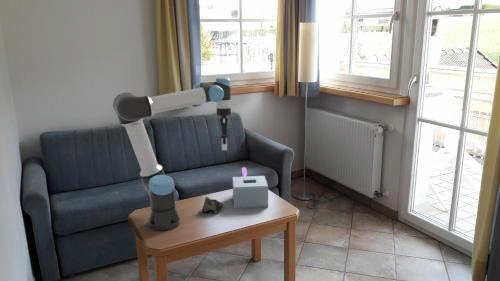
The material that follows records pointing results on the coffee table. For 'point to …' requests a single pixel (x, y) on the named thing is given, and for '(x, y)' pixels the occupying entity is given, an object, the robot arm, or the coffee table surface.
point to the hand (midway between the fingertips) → (224, 146)
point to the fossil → (212, 205)
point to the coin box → (250, 192)
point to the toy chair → (244, 172)
